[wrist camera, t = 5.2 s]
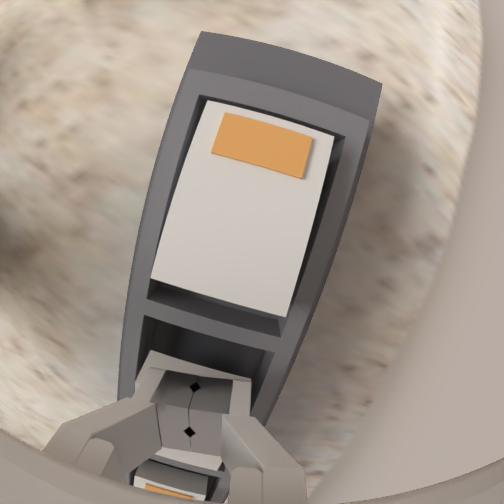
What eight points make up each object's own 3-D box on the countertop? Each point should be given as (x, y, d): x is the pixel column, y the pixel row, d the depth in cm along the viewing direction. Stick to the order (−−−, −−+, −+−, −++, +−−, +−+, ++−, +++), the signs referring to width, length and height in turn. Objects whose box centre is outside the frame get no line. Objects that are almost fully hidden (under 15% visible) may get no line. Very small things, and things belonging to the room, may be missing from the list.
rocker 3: (192, 521, 12) (189, 540, 11) (135, 505, 12) (129, 523, 11) (208, 476, 12) (205, 497, 11) (142, 457, 12) (134, 476, 11)
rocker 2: (221, 442, 12) (216, 473, 10) (146, 421, 12) (135, 449, 10) (251, 378, 10) (247, 417, 8) (150, 349, 10) (133, 384, 8)
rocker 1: (277, 305, 9) (286, 318, 7) (164, 273, 9) (149, 278, 7) (319, 153, 9) (335, 135, 8) (212, 122, 9) (207, 98, 7)
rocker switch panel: (203, 513, 20) (196, 556, 15) (132, 493, 20) (117, 533, 14) (351, 107, 13) (397, 72, 8) (214, 67, 13) (194, 13, 7)
